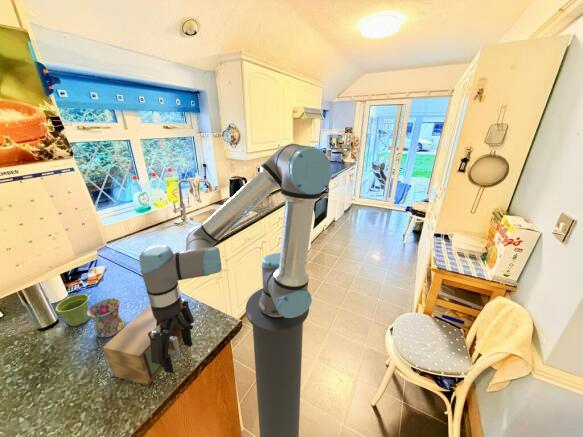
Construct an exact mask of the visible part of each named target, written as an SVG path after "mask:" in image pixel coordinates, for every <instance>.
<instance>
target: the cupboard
mask: <svg viewBox="0 0 583 437" xmlns="http://www.w3.org/2000/svg"><path fill="white" fill-rule="evenodd" d="M180 314H181V315H182V313H181V312H180ZM182 316H183V315H182ZM156 323H157V320H156V319H155V317H154V316H153V313H152V309H151V304H150V303H149V305H147V307H146V308H144V309H143V310H142V311H141V312H140V313H139V314H138V315H137V316H136V317H135V318H133V319H132V320H131V321H130V322H129V323H127V325H126V326H124V327H123V328H122V330H120V331H119V332H118V333H116V334H115V335H114V336H113V337H112V338H111V339H110V340H109V341H108V342H107V343H105V345H103V346H102V350H103V352H104V356H105V357H106V361H107V362H108V365H109V368H110V371H111V373H112V375H113V377H115V378H119V379H122V380H127V381H130V382H134V383H138V384H142V385H145V386H149V385H150V384H151V383H152V382H153V381H154V379H155V378H156V377H157V375H158V374H159V373H160V372H161V370H162V369H163V367H161V365H160V366H159V367H158V369H157V370H156V371H155V373H154V374H153V375H151V374H150V371H149V368H148V365H147V362H146V358H145V355H144V354H145V353H146V351H147V350H148V349H149V348H150V347H151V345H150V338H149V336H148V333H149V331H154V329H155V328H156ZM182 329H184V328H182V327H181V326H180V325H179V324H178V323H176V324H175V325H174V327H173V329H172V334H170V336H173V337H177V339H178V343H179V346H181V344H182V343H183V339H182V334H181V330H182ZM167 331H168V330H167ZM169 349H171V350H174V345H173V342H172V341H169ZM169 355H170V354H169ZM172 356H173V355H170V357H171V358H172Z"/></svg>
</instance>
